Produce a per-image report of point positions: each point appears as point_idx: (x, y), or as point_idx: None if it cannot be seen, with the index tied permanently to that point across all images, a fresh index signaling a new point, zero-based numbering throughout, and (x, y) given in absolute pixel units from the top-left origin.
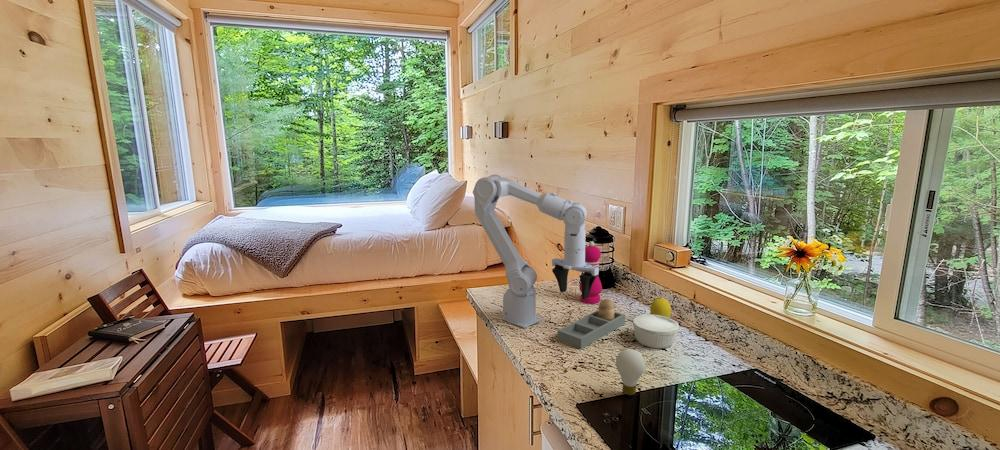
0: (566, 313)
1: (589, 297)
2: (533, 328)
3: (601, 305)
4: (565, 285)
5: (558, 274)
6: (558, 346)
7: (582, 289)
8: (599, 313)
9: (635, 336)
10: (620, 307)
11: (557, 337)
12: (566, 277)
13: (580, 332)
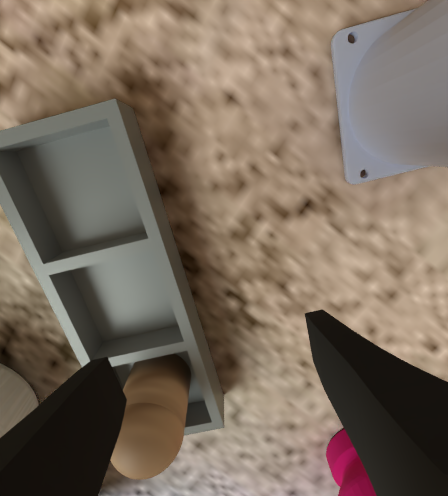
0: (332, 315)
1: (355, 456)
2: (303, 87)
3: (139, 418)
4: (331, 392)
5: (439, 460)
6: (74, 68)
7: (38, 421)
8: (160, 380)
9: (3, 371)
10: (249, 479)
11: (129, 106)
12: (378, 491)
13: (123, 232)
